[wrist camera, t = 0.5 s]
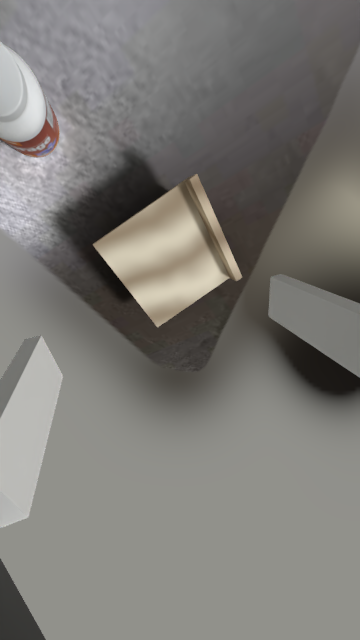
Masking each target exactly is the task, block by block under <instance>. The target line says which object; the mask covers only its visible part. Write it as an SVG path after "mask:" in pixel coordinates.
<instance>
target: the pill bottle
mask: <svg viewBox="0 0 360 640" xmlns="http://www.w3.org/2000/svg"><path fill="white" fill-rule="evenodd" d="M0 139H1V140H2V141H4V142H5V143H7V144H8V145H10V146H11V147H13V148H14V149H15V150H17V151H18V152H20V153H22V154H24V155H27V156H30V157H37V158H38V157H44V156H47V155H49V154H50V153H52V152H53V151H54V150H55V148H56V147H57V144H58V141H59V125H58V121H57V118H56V116H55V114H54V111H53V110H52V108H51V106H50V104H49V102H48V100H47V98H46V96H45V94H44V92H43V90H42V88H41V86H40V84H39V82H38V80H37V79H36V77H35V75H34V74H33V72H32V70H31V69H30V68H29V66H28V65H27V64H26V62H25V61H24V60H23V59H22V58H21V57H20V56H19V55H18V54H17V53H16V52H14V51H13V50H12V49H11V48H9V47H8V46H6V45H4V44H3V43H1V41H0Z"/></svg>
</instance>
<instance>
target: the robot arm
mask: <svg viewBox="0 0 360 640" xmlns="http://www.w3.org/2000/svg"><path fill="white" fill-rule="evenodd" d="M268 316H269V317H270V318H272V319H273V320H275V321H276V322H278V323H279V324H281V325H282V326H284V327H285V328H287V329H288V330H290V331H291V332H293V333H294V334H296V335H297V336H299V337H300V338H301V339H303V340H304V341H306V342H308V343H309V344H310V345H312V346H313V347H315V348H317V349H318V350H320V351H321V352H322V353H324V354H326V355H327V356H328V357H330V358H332V359H333V360H334V361H336V362H337V363H339V364H340V365H342V366H343V367H345V368H347V369H348V370H349V371H351V372H352V373H354V374H355V375H357V376H358V377H360V304H359V303H357V302H354V301H351V300H348V299H346V298H343V297H340V296H338V295H335V294H333V293H330V292H327V291H324V290H322V289H319V288H317V287H314V286H312V285H309V284H306V283H304V282H301V281H298V280H296V279H293V278H290V277H288V276H285V275H283V274H280V275H276V276H272V277H271V281H270V298H269V315H268ZM62 378H63V375H62V374H61V372H60V370H59V368H58V366H57V364H56V362H55V360H54V358H53V356H52V355H51V353H50V351H49V349H48V347H47V345H46V343H45V341H44V340H43V338H42V336H41V335H40V336H36V337H32V338H29V339H25V340H24V342H23V343H22V345H21V347H20V348H19V350H18V352H17V353H16V355H15V357H14V358H13V360H12V362H11V364H10V365H9V366H8V368H7V370H6V371H5V373H4V375H3V377H2V378H1V380H0V528H2V527H5V526H7V525H10V524H12V523H15V522H17V521H20V520H23V519H25V518H28V517H29V513H30V509H31V504H32V500H33V496H34V492H35V488H36V484H37V480H38V476H39V472H40V468H41V464H42V460H43V456H44V452H45V448H46V443H47V439H48V435H49V431H50V427H51V423H52V419H53V415H54V411H55V407H56V403H57V399H58V394H59V390H60V386H61V382H62ZM0 640H46V639H45V638H44V636H43V634H42V632H41V630H40V629H39V627H38V625H37V623H36V622H35V620H34V618H33V616H32V614H31V613H30V611H29V609H28V607H27V605H26V604H25V602H24V600H23V598H22V596H21V595H20V593H19V591H18V589H17V587H16V586H15V584H14V582H13V581H12V579H11V577H10V575H9V573H8V571H7V570H6V568H5V566H4V564H3V562H2V561H1V559H0Z"/></svg>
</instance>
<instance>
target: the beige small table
mask: <svg viewBox="0 0 360 640" xmlns="http://www.w3.org/2000/svg"><path fill="white" fill-rule="evenodd" d="M93 246H94V247H95V248H96V250H97V251H98V252H99V254H100V255H101V256H102V257H103V259H104V260H105V261H106V262H107V264H108V265H109V266H110V268H111V269H112V270H113V271H114V273H115V274H116V275H117V276H118V278H119V279H120V280H121V281H122V283H123V284H124V285H125V287H126V288H127V289H128V290H129V292H130V293H131V294H132V295H133V297H134V298H135V299H136V301H137V302H138V303H139V304H140V306H141V307H142V308H143V309H144V311H145V312H146V313H147V314H148V316H149V317H150V318H151V320H152V321H153V322H154V323H155V325H156V326H157V327H159V326H160V325H162V324H163V323H165V322H166V321H168V320H169V319H170V318H172V317H173V316H175V315H176V314H178V313H179V312H181V311H182V310H183V309H185V308H186V307H188V306H189V305H191V304H192V303H194V302H195V301H197V300H198V299H199V298H201V297H202V296H204V295H205V294H207V293H208V292H210V291H211V290H212V289H214V288H215V287H217V286H218V285H220V284H221V283H223V282H224V281H226V280H227V279H228V278H231V279H233V280H235V281H238V280H239V279H241V278H242V276H241V273H240V271H239V269H238V266H237V264H236V262H235V260H234V257H233V255H232V253H231V250H230V248H229V246H228V244H227V241H226V239H225V237H224V234H223V232H222V230H221V228H220V225H219V223H218V221H217V218H216V216H215V214H214V212H213V209H212V207H211V205H210V202H209V200H208V198H207V196H206V193H205V191H204V189H203V186H202V184H201V182H200V180H199V177H198V175H197V174H196V175H193V176H191V177H188V178H187V179H185V180H184V181H182V182H181V183H179V184H178V185H177V186H175V187H174V188H172V189H171V190H169V191H168V192H167V193H165V194H164V195H162V196H161V197H159V198H158V199H156V200H155V201H154V202H152V203H151V204H149V205H148V206H146V207H145V208H144V209H142V210H141V211H139V212H138V213H136V214H135V215H133V216H132V217H131V218H129V219H128V220H126V221H125V222H123V223H122V224H121V225H119V226H118V227H116V228H115V229H113V230H112V231H111V232H109V233H108V234H106V235H105V236H103V237H102V238H100V239H99V240H98V241H96V242H95V243H93Z"/></svg>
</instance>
